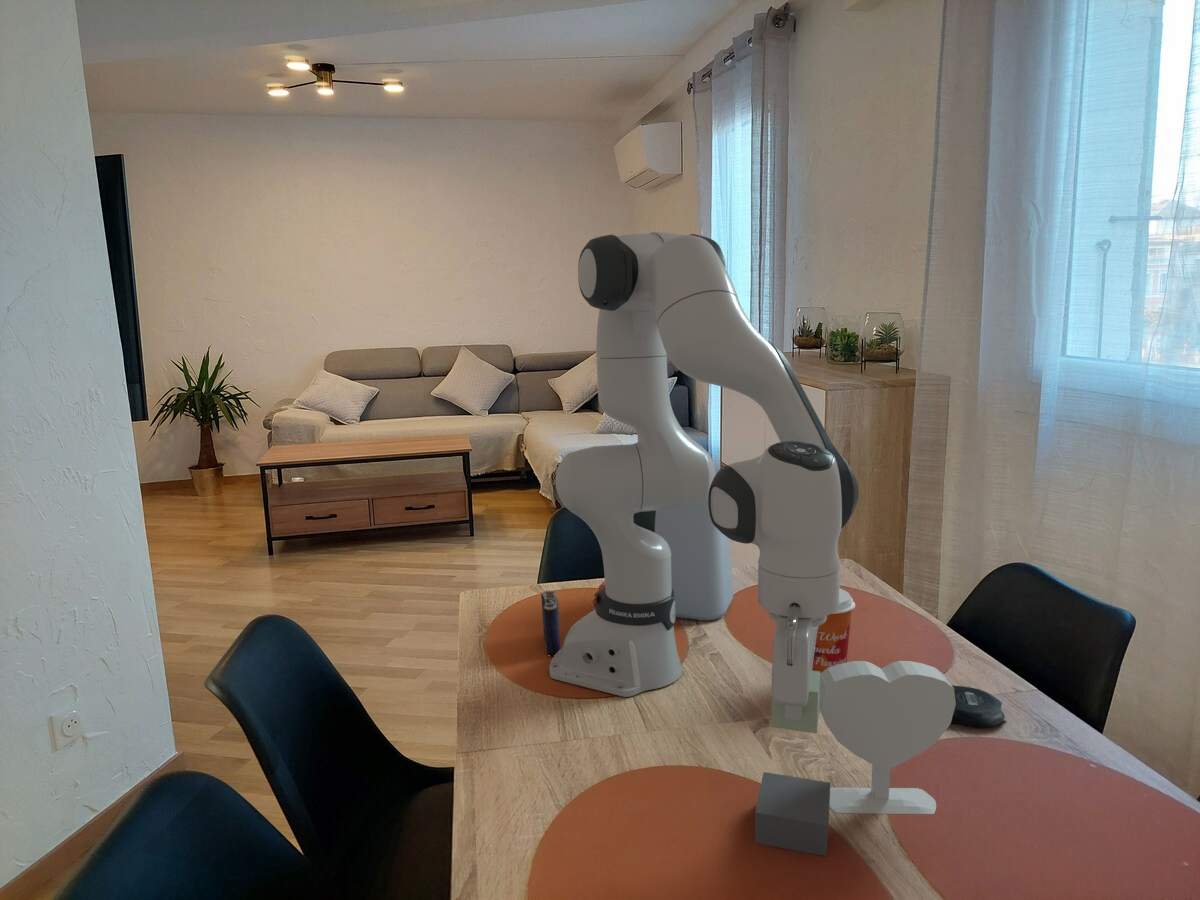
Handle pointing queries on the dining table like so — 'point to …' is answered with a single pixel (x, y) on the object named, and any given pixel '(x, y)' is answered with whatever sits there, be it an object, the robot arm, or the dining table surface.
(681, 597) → the grey-blue container
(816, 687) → the green cube
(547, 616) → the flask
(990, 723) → the black rounded flattened block
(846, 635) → the coffee cup
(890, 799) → the heart sculpture
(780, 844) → the charcoal block
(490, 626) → the dining table surface
